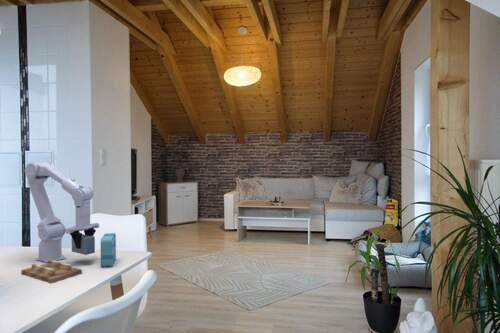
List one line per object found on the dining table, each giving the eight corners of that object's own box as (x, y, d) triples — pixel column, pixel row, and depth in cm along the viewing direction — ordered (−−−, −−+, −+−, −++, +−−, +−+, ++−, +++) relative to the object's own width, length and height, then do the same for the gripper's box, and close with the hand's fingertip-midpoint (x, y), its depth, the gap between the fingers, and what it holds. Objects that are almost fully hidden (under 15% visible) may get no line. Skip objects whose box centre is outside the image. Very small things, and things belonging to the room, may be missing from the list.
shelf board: (21, 273, 134) (21, 264, 134) (51, 265, 145) (51, 257, 145) (51, 283, 125) (51, 273, 125) (81, 273, 135) (81, 264, 135)
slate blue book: (71, 251, 149) (71, 235, 149) (80, 249, 153) (80, 233, 153) (86, 255, 144) (86, 238, 144) (94, 252, 148) (94, 236, 148)
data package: (112, 267, 143) (112, 238, 143) (100, 268, 142) (100, 239, 142) (115, 258, 155) (115, 232, 154) (105, 259, 153) (104, 232, 153)
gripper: (72, 219, 140) (73, 252, 140) (103, 214, 153) (103, 244, 153) (62, 217, 143) (62, 250, 144) (93, 212, 156) (93, 242, 156)
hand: (83, 247), depth 149 cm, fingers closed on slate blue book, 4 cm apart
